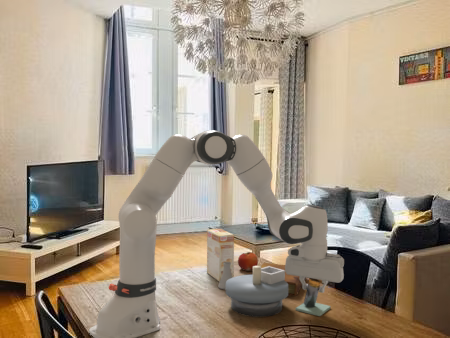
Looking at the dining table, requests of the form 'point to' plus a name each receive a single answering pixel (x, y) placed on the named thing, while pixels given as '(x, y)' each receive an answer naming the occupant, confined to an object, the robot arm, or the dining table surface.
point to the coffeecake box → (219, 252)
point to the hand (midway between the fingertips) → (313, 290)
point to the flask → (225, 275)
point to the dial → (258, 286)
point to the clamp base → (256, 308)
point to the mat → (314, 309)
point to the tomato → (247, 261)
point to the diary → (288, 279)
